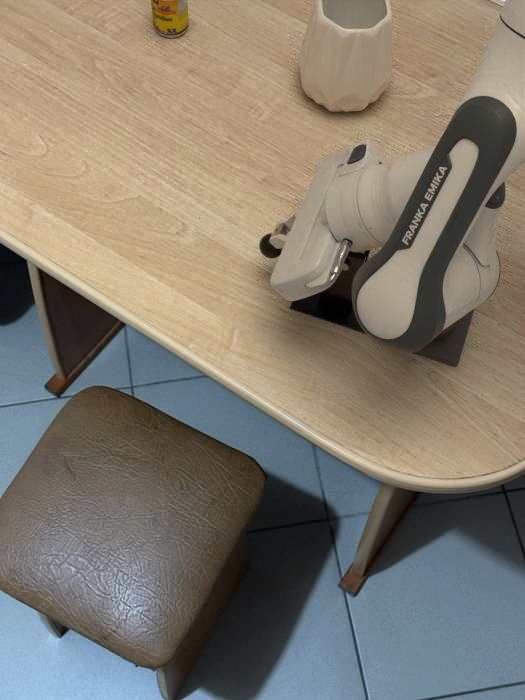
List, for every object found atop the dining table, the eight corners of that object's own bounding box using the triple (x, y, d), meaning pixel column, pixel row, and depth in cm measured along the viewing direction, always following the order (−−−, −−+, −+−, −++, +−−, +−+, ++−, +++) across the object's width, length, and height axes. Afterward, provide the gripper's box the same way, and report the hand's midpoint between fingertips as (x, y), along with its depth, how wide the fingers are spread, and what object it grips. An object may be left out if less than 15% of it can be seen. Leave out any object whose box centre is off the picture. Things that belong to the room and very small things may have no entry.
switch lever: (261, 263, 107) (251, 247, 105) (270, 243, 109) (260, 227, 106) (361, 266, 100) (353, 249, 98) (369, 245, 101) (361, 228, 99)
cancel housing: (472, 307, 111) (480, 292, 107) (454, 371, 107) (462, 357, 103) (400, 284, 112) (405, 268, 109) (379, 346, 108) (384, 331, 104)
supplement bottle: (146, 29, 132) (140, -26, 123) (168, 9, 134) (164, -47, 125) (174, 44, 131) (169, -10, 122) (196, 25, 133) (193, -31, 124)
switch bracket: (289, 312, 110) (296, 254, 97) (310, 259, 114) (320, 196, 101) (369, 339, 108) (386, 283, 96) (388, 283, 112) (407, 223, 100)
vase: (393, 120, 125) (412, 41, 112) (299, 123, 125) (307, 43, 111) (381, 51, 132) (398, -31, 118) (292, 54, 131) (298, -30, 117)
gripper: (351, 302, 90) (264, 318, 100) (401, 163, 99) (316, 191, 109) (316, 267, 87) (229, 288, 97) (371, 126, 96) (286, 159, 106)
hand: (276, 235), depth 103 cm, fingers closed
